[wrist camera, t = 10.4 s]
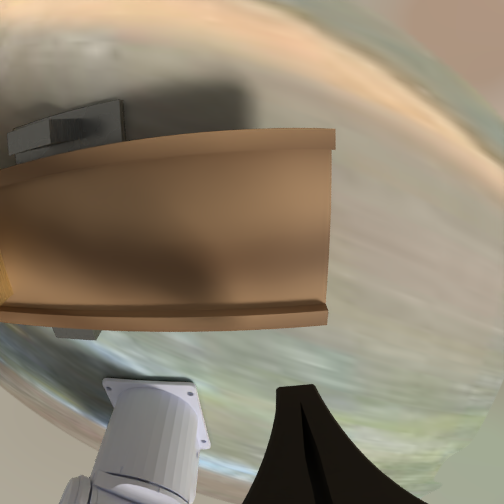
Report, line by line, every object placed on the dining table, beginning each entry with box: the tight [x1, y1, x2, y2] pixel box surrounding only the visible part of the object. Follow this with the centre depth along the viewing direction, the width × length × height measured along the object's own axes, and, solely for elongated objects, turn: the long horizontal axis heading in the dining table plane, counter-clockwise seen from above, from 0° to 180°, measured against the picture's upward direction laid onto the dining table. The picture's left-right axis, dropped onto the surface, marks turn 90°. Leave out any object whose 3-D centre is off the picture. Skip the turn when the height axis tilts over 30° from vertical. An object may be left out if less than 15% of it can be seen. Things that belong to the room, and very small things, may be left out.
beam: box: [0, 128, 335, 332], centre depth 14 cm, size 9×28×6 cm, turn 92°
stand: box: [7, 100, 126, 340], centre depth 16 cm, size 13×8×4 cm, turn 2°
